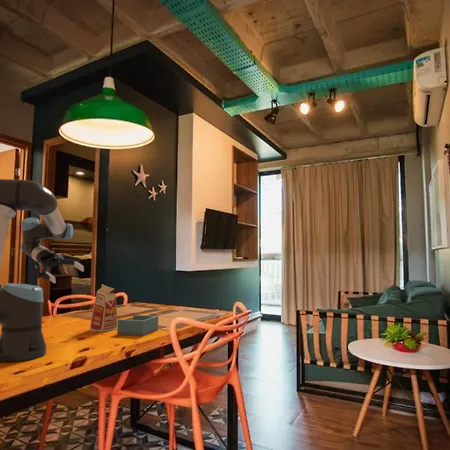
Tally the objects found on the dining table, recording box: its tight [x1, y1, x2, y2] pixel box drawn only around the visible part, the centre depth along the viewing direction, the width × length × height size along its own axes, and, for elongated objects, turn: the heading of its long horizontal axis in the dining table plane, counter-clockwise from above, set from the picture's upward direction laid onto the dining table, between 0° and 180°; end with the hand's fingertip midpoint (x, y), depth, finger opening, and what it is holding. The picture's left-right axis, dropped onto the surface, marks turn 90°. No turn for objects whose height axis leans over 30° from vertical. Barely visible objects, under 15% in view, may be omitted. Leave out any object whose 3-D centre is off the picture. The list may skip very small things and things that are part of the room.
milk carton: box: [89, 284, 118, 333], centre depth 159 cm, size 9×9×20 cm
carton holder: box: [116, 314, 159, 337], centre depth 153 cm, size 12×13×6 cm
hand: (69, 274), depth 156 cm, fingers open, 13 cm apart
